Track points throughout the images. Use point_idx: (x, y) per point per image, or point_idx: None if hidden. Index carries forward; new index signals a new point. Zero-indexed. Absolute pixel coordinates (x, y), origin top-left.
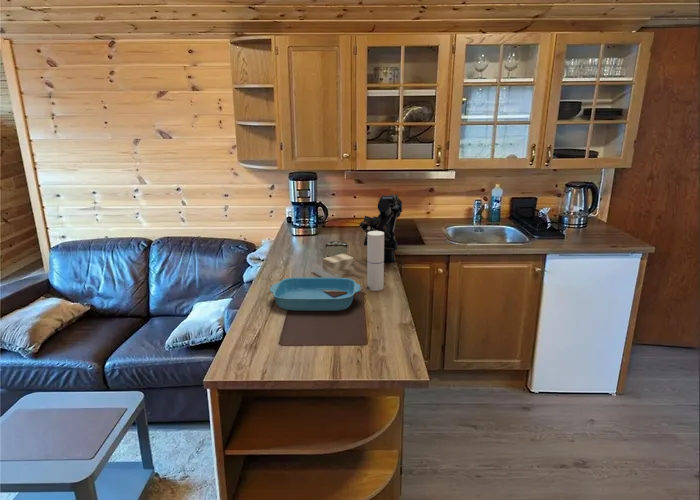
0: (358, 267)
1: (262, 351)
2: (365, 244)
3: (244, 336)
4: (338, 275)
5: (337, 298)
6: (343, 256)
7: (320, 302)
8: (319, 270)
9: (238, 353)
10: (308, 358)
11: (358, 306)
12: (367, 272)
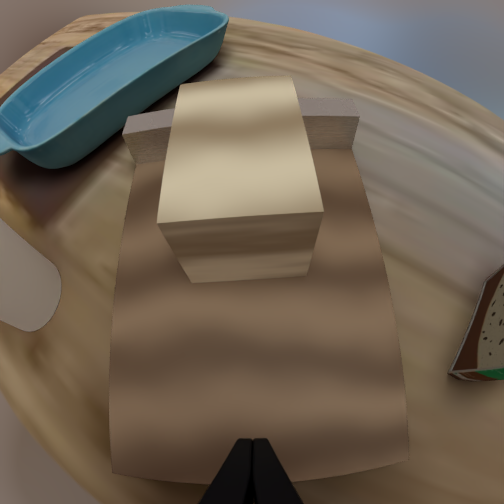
0: (282, 378)
1: (72, 36)
2: (232, 453)
3: (120, 20)
4: (126, 129)
5: (17, 89)
6: (245, 171)
7: (55, 70)
8: None
9: (94, 22)
10: (15, 73)
11: (11, 169)
12: (3, 221)
